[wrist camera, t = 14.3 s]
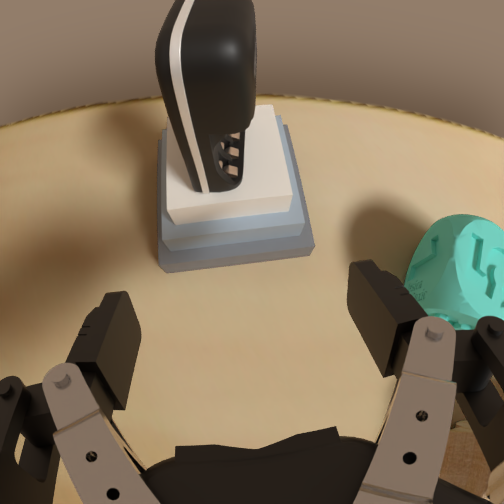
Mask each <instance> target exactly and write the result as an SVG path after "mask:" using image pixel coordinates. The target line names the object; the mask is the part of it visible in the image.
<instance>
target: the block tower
mask: <svg viewBox="0 0 504 504" xmlns="http://www.w3.org/2000/svg"><path fill="white" fill-rule="evenodd" d="M157 229H158V259H159V266H160V267H161V268H162V269H163V270H164V271H165V272H166V273H174V272H182V271H190V270H199V269H207V268H215V267H224V266H232V265H240V264H248V263H256V262H264V261H272V260H280V259H288V258H295V257H303V256H309V255H310V254H311V252H312V250H313V249H314V247H315V244H314V239H313V234H312V229H311V224H310V220H309V215H308V210H307V206H306V201H305V196H304V192H303V188H302V183H301V179H300V175H299V170H298V166H297V162H296V158H295V154H294V150H293V146H292V141H291V138H290V134H289V130H288V126H287V125H283V123H282V119H281V115H279V116H275V113H274V109H273V105H258V106H255V113H254V117H253V119H252V120H251V124H250V126H249V127H248V128H247V129H246V130H245V147H244V169H243V178H242V182H241V184H240V185H239V186H238V187H237V188H235V189H233V190H230V191H226V192H220V193H213V192H210V194H203V192H195V191H194V189H193V187H192V184H191V181H190V177H189V174H188V171H187V168H186V165H185V162H184V159H183V157H182V154H181V151H180V149H179V146H178V143H177V140H176V137H175V135H174V132H173V129H172V126H171V123H170V119H169V117H167V129H163V130H162V140H158V164H157Z"/></svg>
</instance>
